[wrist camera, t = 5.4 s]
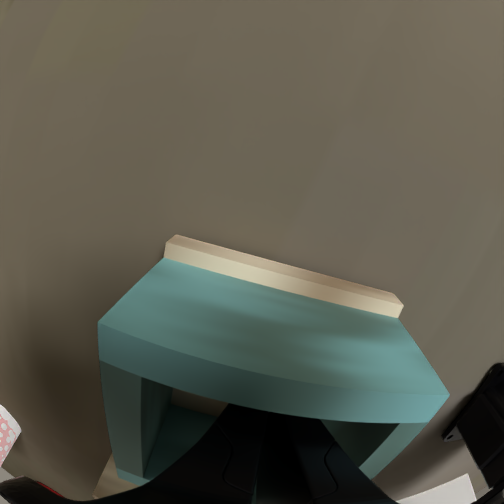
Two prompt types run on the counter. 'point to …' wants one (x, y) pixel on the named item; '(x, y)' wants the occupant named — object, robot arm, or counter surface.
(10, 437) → the beverage cup
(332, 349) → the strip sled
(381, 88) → the counter surface
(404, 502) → the milk
